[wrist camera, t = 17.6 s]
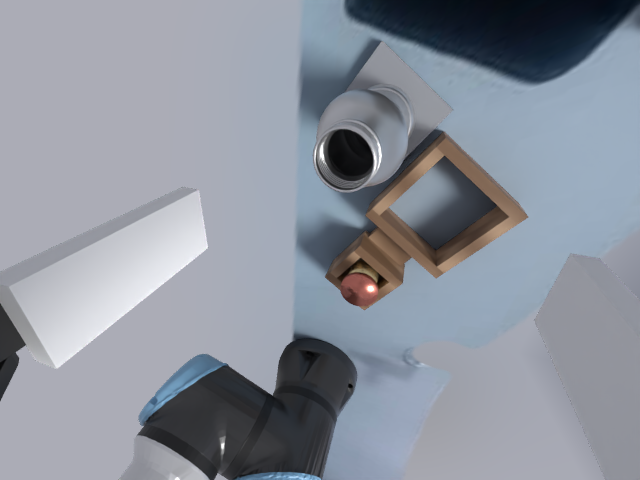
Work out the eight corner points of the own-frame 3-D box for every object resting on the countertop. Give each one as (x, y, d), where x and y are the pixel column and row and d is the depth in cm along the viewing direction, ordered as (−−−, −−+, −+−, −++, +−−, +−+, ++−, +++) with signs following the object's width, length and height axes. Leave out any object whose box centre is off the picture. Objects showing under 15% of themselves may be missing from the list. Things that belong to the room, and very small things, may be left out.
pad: (385, 176, 37) (384, 178, 36) (325, 120, 36) (322, 122, 35) (452, 109, 32) (453, 110, 31) (383, 41, 31) (382, 40, 30)
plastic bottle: (371, 157, 36) (323, 232, 19) (346, 102, 34) (267, 131, 17) (425, 131, 33) (424, 193, 16) (401, 69, 31) (371, 65, 14)
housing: (379, 300, 47) (375, 320, 43) (322, 250, 45) (312, 266, 42) (518, 202, 34) (529, 219, 30) (443, 131, 33) (446, 138, 29)
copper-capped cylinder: (368, 282, 45) (360, 312, 40) (344, 262, 45) (332, 289, 39) (391, 265, 43) (385, 293, 37) (366, 243, 42) (357, 269, 37)
